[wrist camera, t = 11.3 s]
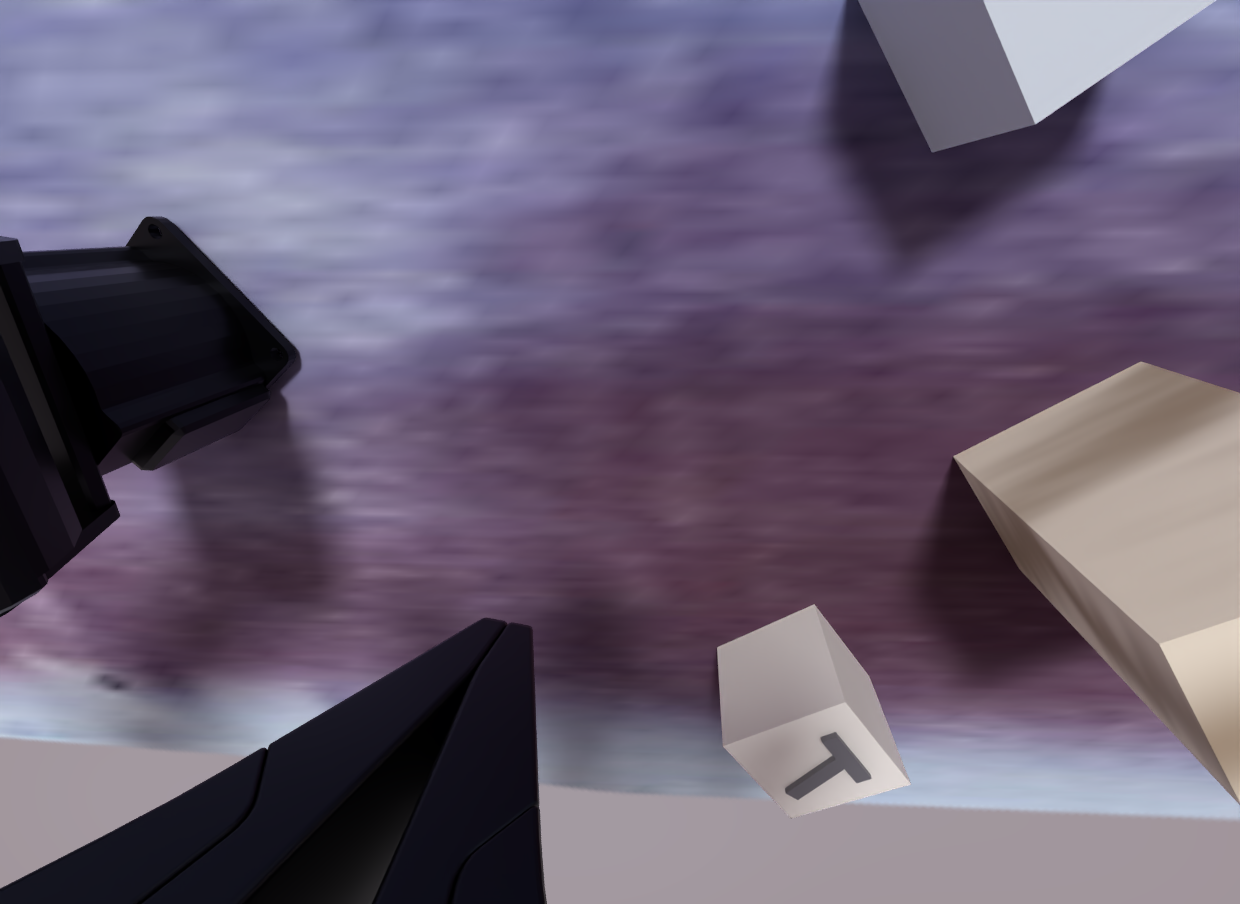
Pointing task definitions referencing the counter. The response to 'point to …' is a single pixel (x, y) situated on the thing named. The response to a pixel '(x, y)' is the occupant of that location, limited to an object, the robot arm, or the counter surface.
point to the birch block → (1136, 539)
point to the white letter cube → (1009, 56)
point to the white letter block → (805, 716)
